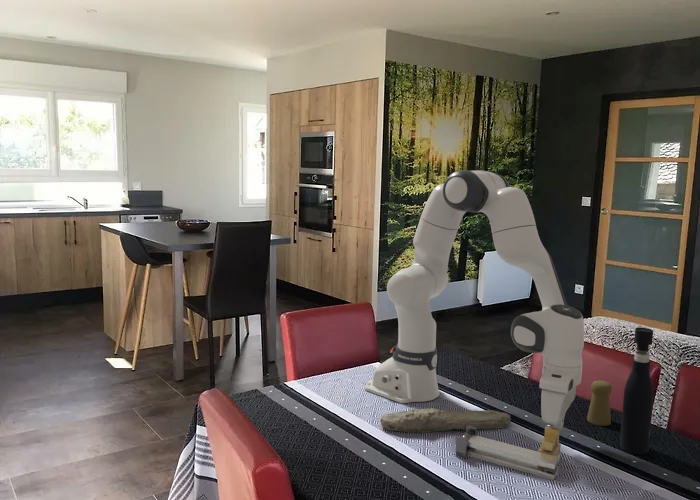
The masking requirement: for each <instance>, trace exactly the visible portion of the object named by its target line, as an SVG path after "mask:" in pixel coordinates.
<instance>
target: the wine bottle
mask: <svg viewBox="0 0 700 500" xmlns="http://www.w3.org/2000/svg"><path fill="white" fill-rule="evenodd" d="M653 339H654V330H653V329H652V328H648V327H642V326H641V327H636V328H634V340H633V341H634V343H635V344H636V351H635V352H634V354H633V355H634V356H633V359H632V364H631V365H632V366H631V372H630V373H629V376H627V377H628V378H627V379H626V382H625V386H624V389H623V398H622V399H623V402H622V411H621V412H622V413H621V414H622V415H621V424H620V425H621V426H620V437H619V447H620V448H621V450H623V451H624V452H627V453H629V454H633V455H645V454H648V453H649V451H650V450H649V449H650V439H651V429H652V418H653V417H652V416H653V406H654V397H655V393H654V387H653V386H654V385H653V382H652V378H651V374H650V372H651V371H650V370H651V361H650V360H651V359H650V358H651V356H650V353H649V348H650V347H649V346H651V345H653Z"/></svg>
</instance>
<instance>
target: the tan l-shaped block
mask: <svg viewBox="0 0 700 500" xmlns="http://www.w3.org/2000/svg"><path fill="white" fill-rule="evenodd" d="M559 441H560V430H559V429H558V428H554V427H553V426H549V425H545V426H544V437H543V438H542V440H541V445H540V447H541V449H543V450H547V451H551V452H552V451H553V449H554V447H555V446H556V445H558V443H560V442H559Z"/></svg>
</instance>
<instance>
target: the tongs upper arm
mask: <svg viewBox="0 0 700 500" xmlns="http://www.w3.org/2000/svg"><path fill="white" fill-rule="evenodd" d="M461 437H465V438H467V446H469V447H472V448H476V449H480V450H483V451H487V452H491V453H494V454H498V455H502V456H506V457H509V458H513V459H517V460H520V461H524V462H528V463H531V464H535V465H539V466H542V467H545V470H546V471H549V472H553V473H554V472H555V471H556V469H557V467H558V468H559V465H560V464H559V462H560V458H559V457H557V456H553V455H549V454H545V453H541V452H538V450H533V449H529V448H525V447H522V446H518V445H515V444H510V443H507V442H503V441H502V442H501V441H499V440H495V439H491V438H486V437H483V436H480V435H477V436H476V435H474V433H473V432H472V431H467V432H466V431H465V433H464V434H463V435H461Z"/></svg>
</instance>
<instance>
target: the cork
mask: <svg viewBox="0 0 700 500" xmlns="http://www.w3.org/2000/svg"><path fill="white" fill-rule="evenodd" d="M590 388H591V390H590V391H591V392H592V393H591V395H592V396H591V398H590V399H591V400H590V402H589V403H590V404H589V408H588V412H587V416H586V420H587V422H589V423H591V424H593V425H597V426H600V427H601V426H603V427H605V426H610V425H611V424H612V419H611V418H612V416H611V404H610V402H611V401H610V395H611V394H612V391H613V388H612V384H611V383H610V382H608V381H605V380H600V379H598V380H593V381H592V383H591V385H590Z"/></svg>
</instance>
